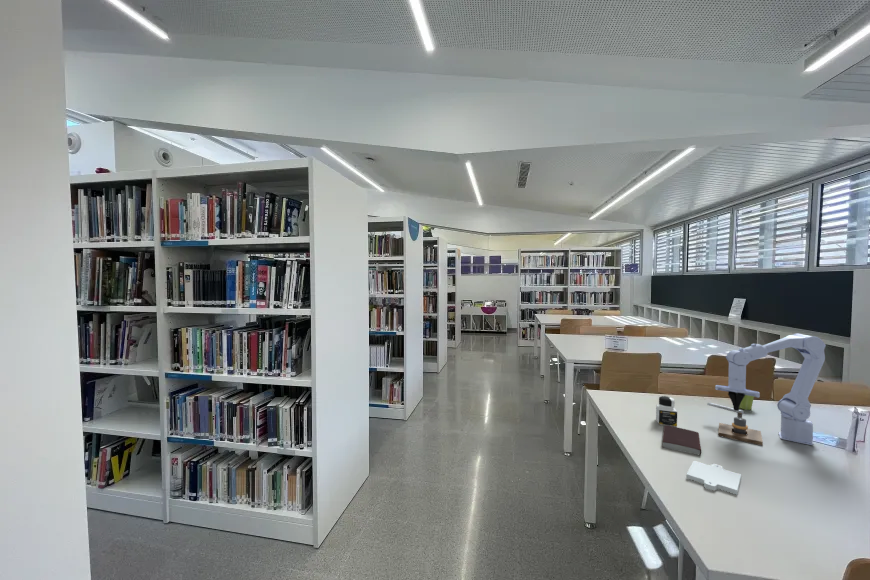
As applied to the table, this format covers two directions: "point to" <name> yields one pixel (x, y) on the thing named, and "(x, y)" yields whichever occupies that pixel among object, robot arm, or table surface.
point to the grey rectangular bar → (725, 408)
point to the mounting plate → (714, 477)
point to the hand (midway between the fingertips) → (736, 409)
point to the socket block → (750, 436)
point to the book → (681, 439)
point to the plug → (740, 425)
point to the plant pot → (747, 402)
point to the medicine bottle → (666, 411)
